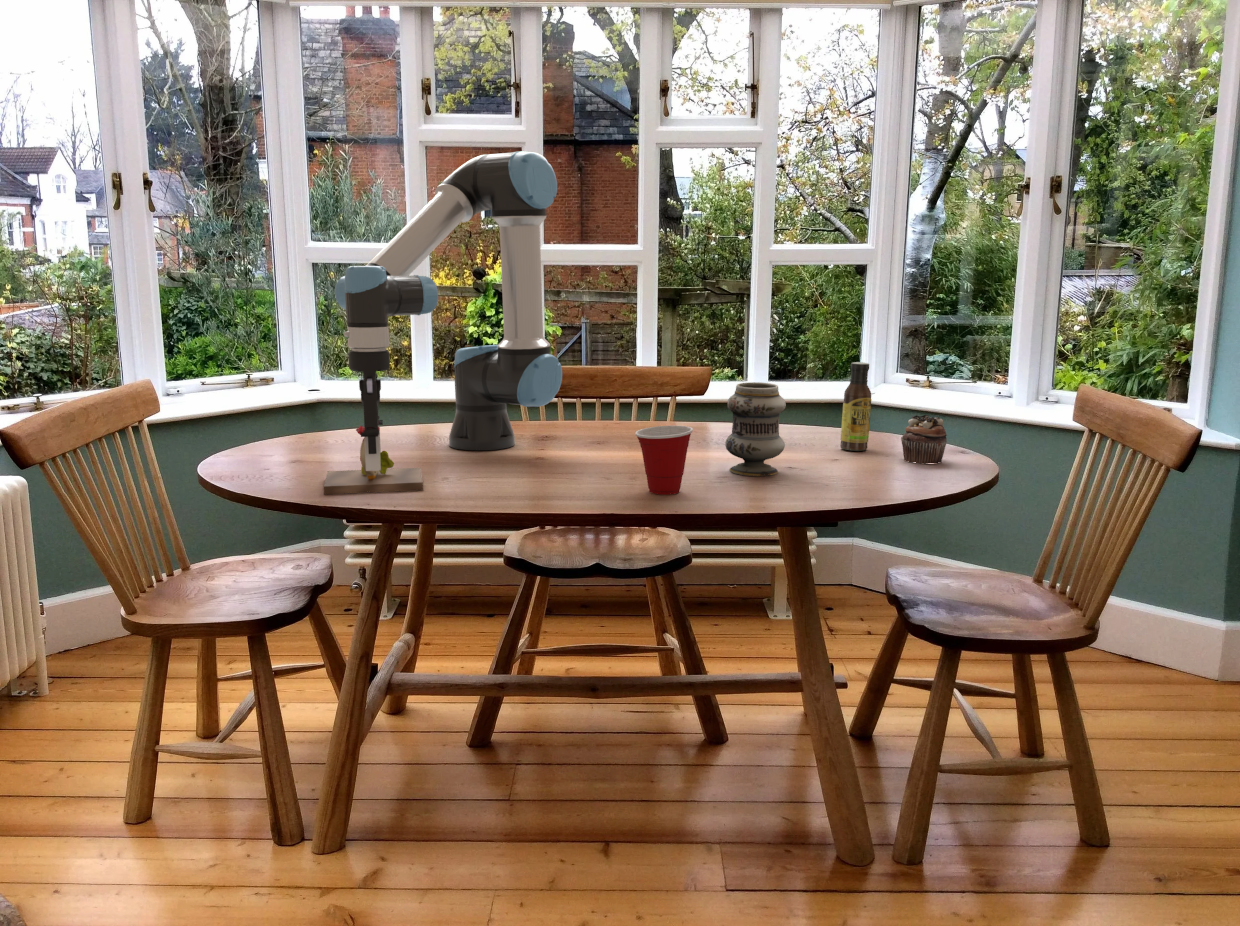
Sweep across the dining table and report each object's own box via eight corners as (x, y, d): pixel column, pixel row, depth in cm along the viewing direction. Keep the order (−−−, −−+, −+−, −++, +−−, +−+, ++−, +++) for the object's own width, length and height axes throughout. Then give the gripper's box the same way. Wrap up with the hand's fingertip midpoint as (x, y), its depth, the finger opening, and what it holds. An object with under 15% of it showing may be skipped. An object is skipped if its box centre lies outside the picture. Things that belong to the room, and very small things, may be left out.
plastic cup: (630, 486, 200) (631, 424, 198) (685, 484, 201) (686, 423, 199) (638, 498, 189) (639, 433, 187) (697, 497, 191) (698, 432, 188)
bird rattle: (388, 490, 198) (396, 462, 205) (380, 441, 192) (389, 415, 199) (356, 490, 198) (365, 462, 205) (346, 442, 192) (356, 415, 199)
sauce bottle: (850, 452, 234) (855, 364, 230) (834, 448, 240) (838, 362, 236) (874, 451, 237) (878, 363, 233) (857, 446, 242) (862, 361, 239)
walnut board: (420, 474, 209) (420, 467, 209) (423, 490, 196) (422, 482, 195) (327, 478, 205) (327, 471, 205) (323, 494, 192) (323, 486, 191)
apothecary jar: (746, 480, 206) (748, 389, 202) (713, 469, 216) (715, 382, 213) (795, 474, 211) (799, 386, 208) (761, 464, 222) (764, 379, 218)
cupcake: (953, 460, 226) (956, 415, 224) (932, 467, 219) (935, 420, 217) (913, 454, 233) (915, 410, 231) (891, 460, 226) (894, 415, 224)
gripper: (350, 344, 206) (355, 454, 210) (345, 355, 183) (351, 477, 188) (388, 343, 207) (393, 452, 211) (389, 354, 185) (394, 476, 189)
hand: (373, 464), depth 200 cm, fingers open, 11 cm apart
